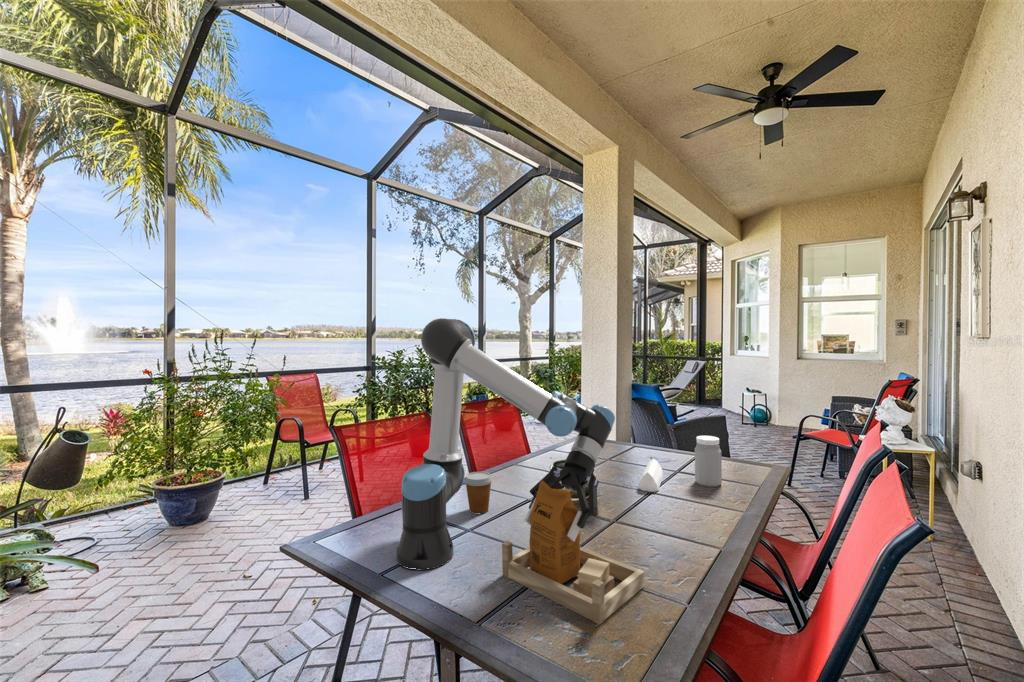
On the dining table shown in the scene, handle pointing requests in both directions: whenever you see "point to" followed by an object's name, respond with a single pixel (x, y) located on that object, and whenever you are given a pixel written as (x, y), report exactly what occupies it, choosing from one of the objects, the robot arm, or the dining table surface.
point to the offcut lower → (588, 591)
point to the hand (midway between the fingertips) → (548, 530)
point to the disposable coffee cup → (478, 491)
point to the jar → (708, 461)
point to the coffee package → (554, 535)
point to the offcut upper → (593, 572)
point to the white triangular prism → (651, 477)
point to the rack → (588, 607)
